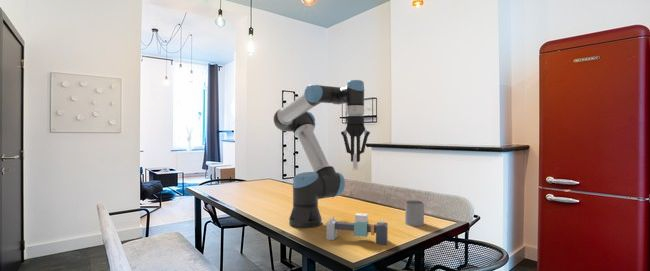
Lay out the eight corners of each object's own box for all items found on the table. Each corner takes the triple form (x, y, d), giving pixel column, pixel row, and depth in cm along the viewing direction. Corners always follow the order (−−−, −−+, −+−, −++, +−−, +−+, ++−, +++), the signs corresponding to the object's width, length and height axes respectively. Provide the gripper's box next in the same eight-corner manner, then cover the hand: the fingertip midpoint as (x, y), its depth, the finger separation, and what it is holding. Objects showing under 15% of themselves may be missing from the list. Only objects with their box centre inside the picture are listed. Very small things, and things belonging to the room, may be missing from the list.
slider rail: (326, 239, 127) (326, 219, 127) (330, 234, 133) (330, 215, 133) (386, 245, 121) (386, 224, 121) (387, 240, 127) (387, 220, 127)
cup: (424, 226, 144) (424, 204, 144) (405, 225, 146) (405, 203, 146) (422, 221, 153) (422, 200, 152) (405, 220, 154) (405, 200, 154)
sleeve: (353, 235, 125) (354, 215, 125) (356, 231, 130) (356, 212, 130) (366, 236, 123) (366, 216, 123) (368, 232, 128) (368, 213, 128)
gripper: (339, 115, 139) (339, 169, 139) (369, 115, 135) (368, 170, 136) (342, 116, 146) (342, 167, 146) (371, 115, 142) (371, 168, 143)
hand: (355, 169), depth 141 cm, fingers closed
